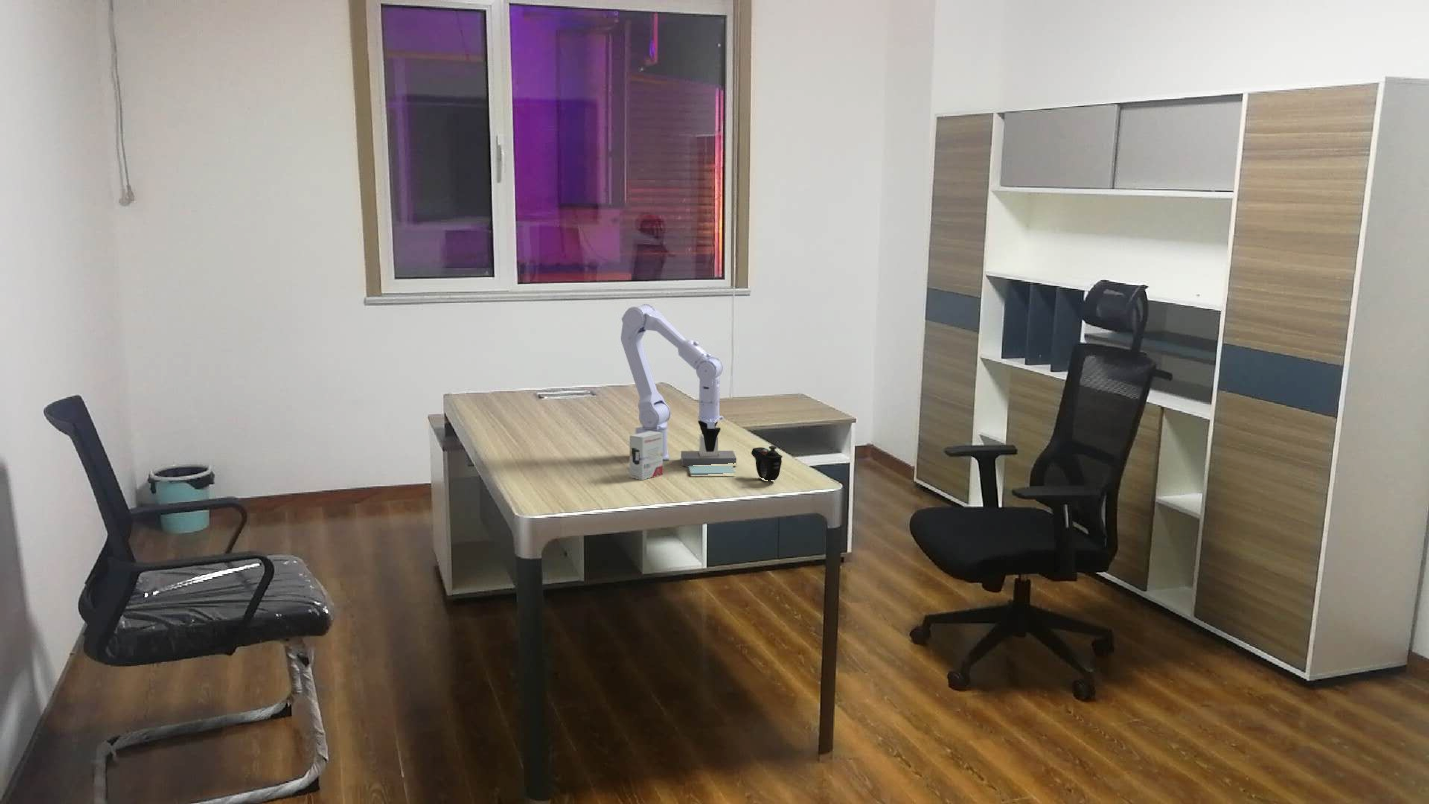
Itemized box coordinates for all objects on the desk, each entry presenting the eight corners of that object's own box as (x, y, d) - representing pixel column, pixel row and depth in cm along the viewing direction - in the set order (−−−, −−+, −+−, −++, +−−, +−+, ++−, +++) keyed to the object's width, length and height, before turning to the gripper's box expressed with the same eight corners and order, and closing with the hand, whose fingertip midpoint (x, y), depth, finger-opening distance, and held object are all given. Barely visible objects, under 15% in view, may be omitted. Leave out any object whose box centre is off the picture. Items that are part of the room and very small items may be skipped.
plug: (700, 464, 309) (700, 437, 308) (699, 461, 313) (699, 434, 312) (717, 464, 310) (718, 437, 308) (716, 461, 314) (716, 434, 312)
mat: (690, 476, 296) (690, 473, 296) (688, 469, 304) (688, 465, 304) (734, 476, 297) (734, 472, 297) (731, 469, 305) (731, 465, 305)
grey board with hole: (682, 467, 306) (682, 458, 306) (681, 459, 315) (681, 450, 315) (736, 466, 308) (736, 458, 307) (732, 459, 316) (733, 450, 316)
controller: (769, 486, 288) (770, 449, 286) (748, 475, 299) (749, 439, 297) (783, 485, 289) (784, 448, 287) (762, 474, 300) (763, 438, 299)
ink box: (650, 471, 301) (650, 429, 299) (663, 474, 298) (663, 432, 296) (628, 477, 294) (628, 434, 292) (641, 480, 291) (642, 437, 289)
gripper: (726, 406, 301) (725, 454, 304) (721, 396, 315) (720, 442, 318) (700, 406, 301) (699, 454, 303) (696, 396, 315) (696, 442, 317)
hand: (708, 448), depth 311 cm, fingers open, 7 cm apart
